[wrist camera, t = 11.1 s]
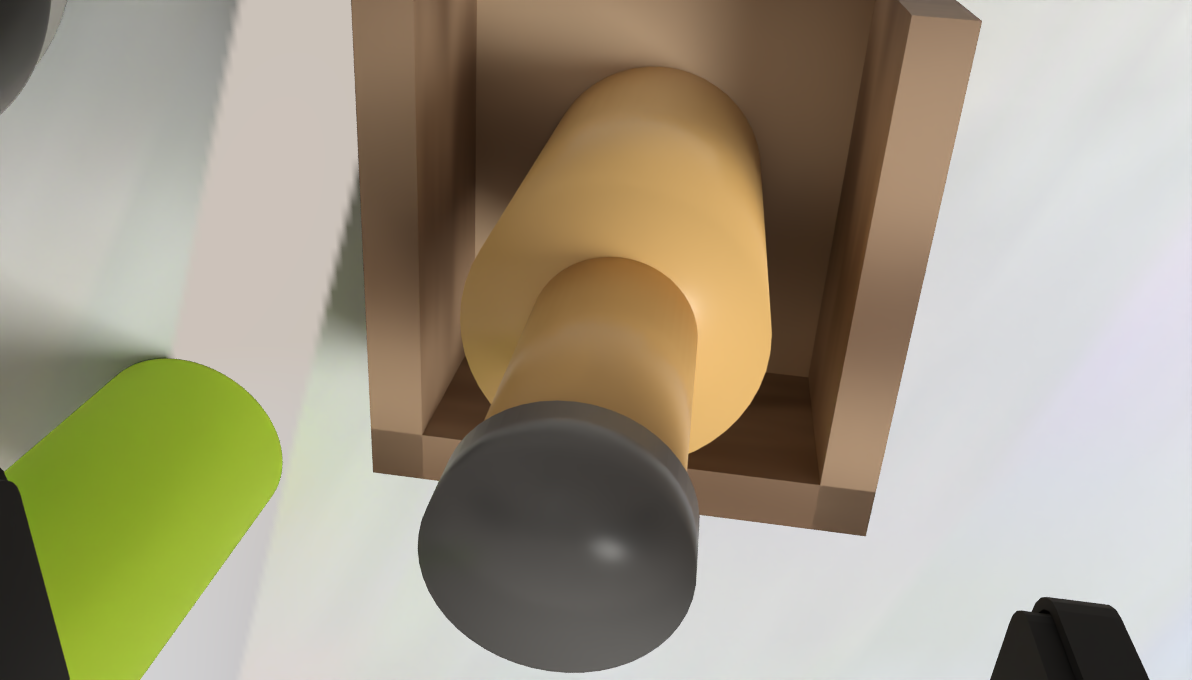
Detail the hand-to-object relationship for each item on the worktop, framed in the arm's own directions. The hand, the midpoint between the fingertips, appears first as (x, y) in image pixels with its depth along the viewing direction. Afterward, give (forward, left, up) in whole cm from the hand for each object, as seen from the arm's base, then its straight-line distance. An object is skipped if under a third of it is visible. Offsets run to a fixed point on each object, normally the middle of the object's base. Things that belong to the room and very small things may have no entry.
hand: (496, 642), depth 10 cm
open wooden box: (+1, 0, -17) cm, 17 cm away
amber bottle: (+1, 0, -17) cm, 17 cm away
